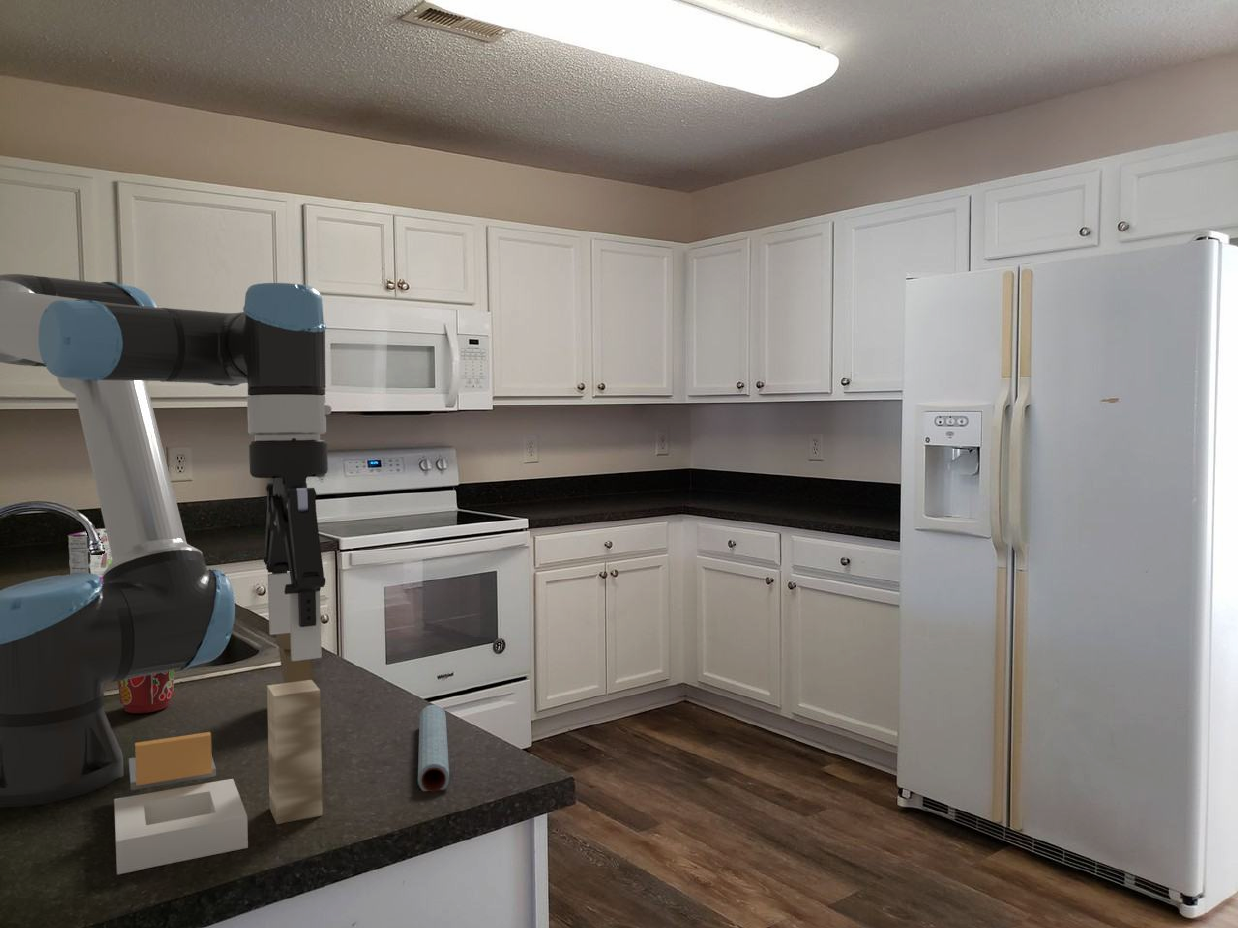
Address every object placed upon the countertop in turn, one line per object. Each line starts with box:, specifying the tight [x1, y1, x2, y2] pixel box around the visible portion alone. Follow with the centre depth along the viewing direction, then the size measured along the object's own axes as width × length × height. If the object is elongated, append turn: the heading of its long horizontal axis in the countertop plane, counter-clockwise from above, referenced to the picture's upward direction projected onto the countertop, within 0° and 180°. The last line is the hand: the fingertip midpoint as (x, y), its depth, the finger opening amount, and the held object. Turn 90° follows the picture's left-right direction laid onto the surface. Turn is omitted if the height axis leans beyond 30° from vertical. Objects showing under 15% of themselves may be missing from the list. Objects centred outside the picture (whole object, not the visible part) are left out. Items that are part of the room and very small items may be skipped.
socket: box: [114, 778, 249, 875], centre depth 92 cm, size 11×11×3 cm
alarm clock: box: [273, 633, 314, 683], centre depth 133 cm, size 11×5×15 cm, turn 25°
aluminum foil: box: [417, 704, 450, 792], centre depth 115 cm, size 23×7×3 cm, turn 11°
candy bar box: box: [67, 528, 113, 584], centre depth 213 cm, size 11×5×16 cm, turn 179°
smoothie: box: [117, 670, 175, 714], centre depth 134 cm, size 8×8×20 cm
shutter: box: [128, 731, 217, 791], centre depth 101 cm, size 8×9×5 cm
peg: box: [266, 680, 324, 825], centre depth 98 cm, size 4×4×13 cm
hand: (293, 645), depth 98 cm, fingers open, 13 cm apart
